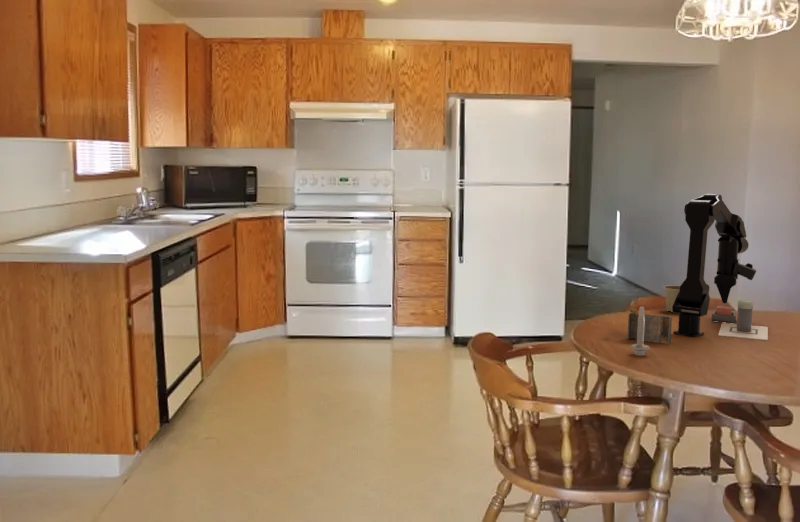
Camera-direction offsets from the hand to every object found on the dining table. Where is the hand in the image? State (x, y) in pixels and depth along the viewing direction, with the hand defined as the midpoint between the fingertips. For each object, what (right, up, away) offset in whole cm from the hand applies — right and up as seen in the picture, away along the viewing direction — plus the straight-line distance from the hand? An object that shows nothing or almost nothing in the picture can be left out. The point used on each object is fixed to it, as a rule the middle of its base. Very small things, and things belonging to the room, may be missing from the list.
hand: (724, 303), depth 229 cm
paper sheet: (-1, -8, -15) cm, 17 cm away
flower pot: (-9, -4, +16) cm, 19 cm away
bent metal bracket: (-35, -10, -28) cm, 46 cm away
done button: (0, -4, +1) cm, 4 cm away
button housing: (0, -6, +1) cm, 6 cm away
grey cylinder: (-1, -7, -15) cm, 17 cm away
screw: (-43, -11, -45) cm, 63 cm away
